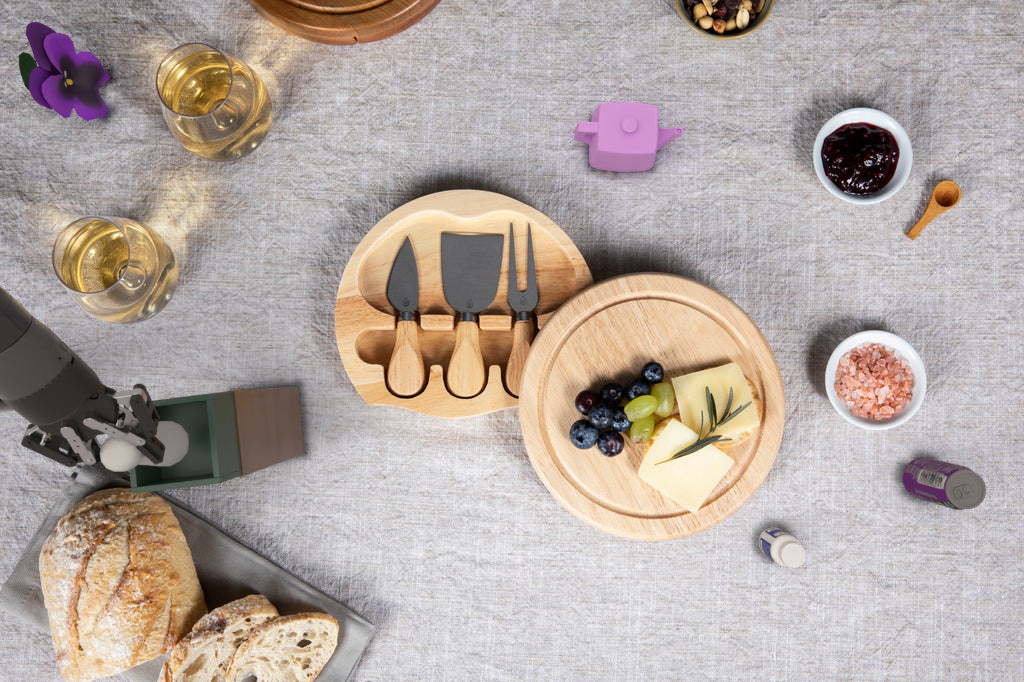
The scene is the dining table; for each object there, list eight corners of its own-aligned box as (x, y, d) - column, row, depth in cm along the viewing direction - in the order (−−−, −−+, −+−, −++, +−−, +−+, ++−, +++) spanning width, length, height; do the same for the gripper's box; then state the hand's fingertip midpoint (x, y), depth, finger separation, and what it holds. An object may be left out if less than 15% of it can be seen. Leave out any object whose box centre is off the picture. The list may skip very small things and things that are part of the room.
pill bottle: (778, 562, 116) (799, 578, 107) (752, 546, 116) (771, 561, 107) (794, 536, 116) (816, 550, 107) (768, 520, 116) (788, 533, 107)
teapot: (674, 118, 120) (688, 95, 109) (671, 176, 119) (685, 158, 109) (574, 114, 120) (579, 90, 110) (571, 171, 120) (575, 152, 109)
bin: (159, 485, 92) (131, 494, 86) (151, 402, 93) (123, 404, 86) (242, 475, 92) (220, 483, 85) (233, 391, 93) (211, 393, 86)
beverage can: (912, 505, 116) (957, 520, 104) (892, 468, 116) (935, 479, 104) (948, 486, 116) (997, 499, 104) (928, 449, 116) (975, 458, 104)
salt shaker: (191, 467, 87) (133, 485, 74) (148, 459, 87) (83, 474, 74) (201, 423, 87) (145, 433, 74) (158, 415, 87) (95, 423, 74)
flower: (74, 142, 126) (116, 131, 120) (-19, 115, 113) (22, 101, 107) (77, 67, 127) (119, 52, 121) (-15, 32, 114) (26, 12, 107)
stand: (238, 461, 118) (158, 486, 92) (231, 394, 119) (149, 400, 93) (304, 453, 118) (243, 476, 92) (297, 386, 119) (234, 390, 93)
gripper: (-49, 421, 64) (76, 513, 75) (90, 368, 64) (194, 468, 75) (-22, 369, 69) (91, 462, 81) (106, 320, 69) (201, 420, 81)
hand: (140, 465), depth 78 cm, fingers closed on salt shaker, 4 cm apart
